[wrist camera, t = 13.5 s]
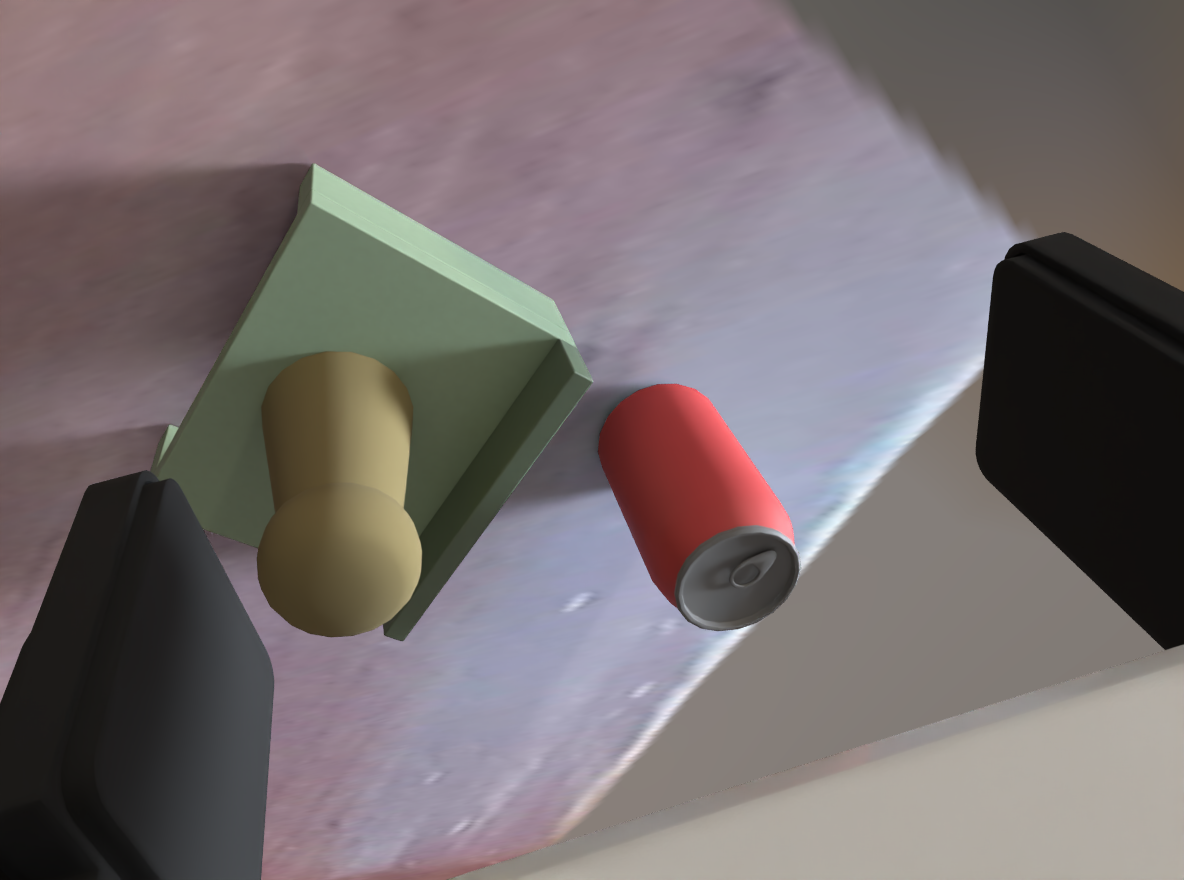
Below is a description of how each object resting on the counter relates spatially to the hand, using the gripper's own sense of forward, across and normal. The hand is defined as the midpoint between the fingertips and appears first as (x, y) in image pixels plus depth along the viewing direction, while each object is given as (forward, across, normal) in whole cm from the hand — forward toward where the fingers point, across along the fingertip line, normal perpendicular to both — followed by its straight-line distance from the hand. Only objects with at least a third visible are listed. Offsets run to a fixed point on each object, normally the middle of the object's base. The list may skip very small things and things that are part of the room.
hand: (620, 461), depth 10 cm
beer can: (+31, -7, +21) cm, 38 cm away
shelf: (+30, +6, +13) cm, 34 cm away
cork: (+26, +7, +13) cm, 29 cm away
